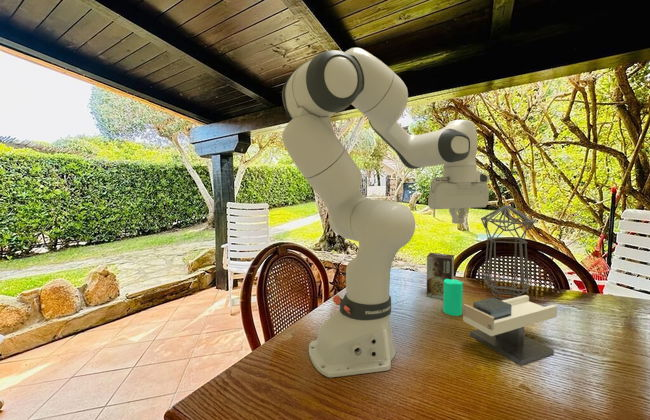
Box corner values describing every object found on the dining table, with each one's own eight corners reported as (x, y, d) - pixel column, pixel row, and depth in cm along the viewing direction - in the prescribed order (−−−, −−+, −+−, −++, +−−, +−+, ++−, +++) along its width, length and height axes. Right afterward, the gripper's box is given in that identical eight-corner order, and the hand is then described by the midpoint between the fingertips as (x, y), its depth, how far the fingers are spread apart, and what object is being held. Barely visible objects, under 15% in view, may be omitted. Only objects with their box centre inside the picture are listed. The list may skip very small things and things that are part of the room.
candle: (464, 316, 87) (466, 280, 86) (445, 315, 88) (446, 279, 87) (459, 308, 92) (460, 274, 92) (441, 307, 94) (441, 273, 93)
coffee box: (453, 295, 104) (455, 254, 102) (451, 301, 98) (452, 258, 97) (429, 291, 109) (430, 252, 107) (425, 296, 103) (426, 255, 102)
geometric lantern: (485, 300, 99) (486, 206, 97) (479, 286, 114) (480, 204, 112) (537, 306, 93) (539, 206, 91) (523, 291, 107) (525, 204, 106)
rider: (490, 326, 64) (491, 310, 64) (472, 316, 69) (473, 301, 69) (511, 320, 67) (511, 304, 66) (492, 311, 71) (492, 297, 71)
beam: (491, 336, 63) (491, 317, 62) (463, 320, 70) (463, 304, 70) (556, 316, 71) (557, 300, 70) (525, 304, 78) (525, 290, 78)
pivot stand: (520, 365, 62) (521, 339, 62) (469, 335, 76) (470, 313, 75) (553, 354, 66) (555, 329, 66) (499, 327, 80) (500, 306, 79)
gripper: (439, 176, 73) (438, 226, 74) (493, 176, 80) (491, 222, 81) (423, 177, 79) (422, 223, 80) (475, 177, 86) (473, 220, 87)
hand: (458, 223), depth 80 cm, fingers closed
